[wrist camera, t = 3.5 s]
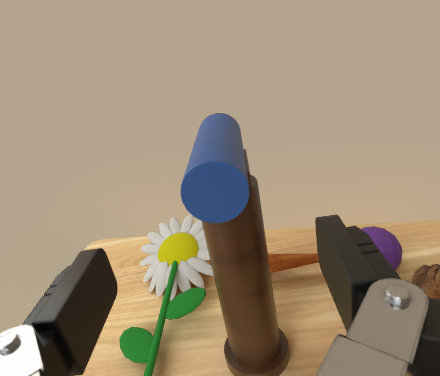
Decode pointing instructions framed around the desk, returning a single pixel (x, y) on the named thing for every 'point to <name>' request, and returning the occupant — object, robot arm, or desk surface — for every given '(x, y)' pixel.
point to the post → (246, 290)
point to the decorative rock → (428, 280)
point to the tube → (216, 172)
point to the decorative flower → (170, 283)
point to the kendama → (287, 261)
